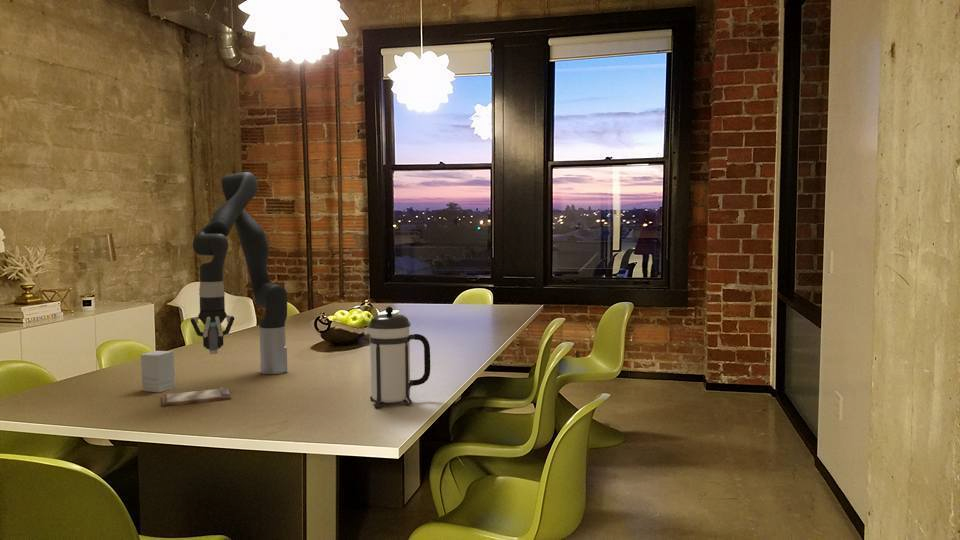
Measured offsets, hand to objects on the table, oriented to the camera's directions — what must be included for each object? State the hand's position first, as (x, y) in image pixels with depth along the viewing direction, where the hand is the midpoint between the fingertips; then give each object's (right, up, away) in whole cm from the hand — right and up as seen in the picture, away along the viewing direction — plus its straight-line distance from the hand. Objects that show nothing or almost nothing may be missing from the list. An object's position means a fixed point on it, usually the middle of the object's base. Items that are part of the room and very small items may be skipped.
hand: (213, 347), depth 221 cm
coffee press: (+60, -16, -10) cm, 63 cm away
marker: (0, -2, 0) cm, 2 cm away
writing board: (-4, -16, -3) cm, 17 cm away
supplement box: (-22, -15, +9) cm, 28 cm away
